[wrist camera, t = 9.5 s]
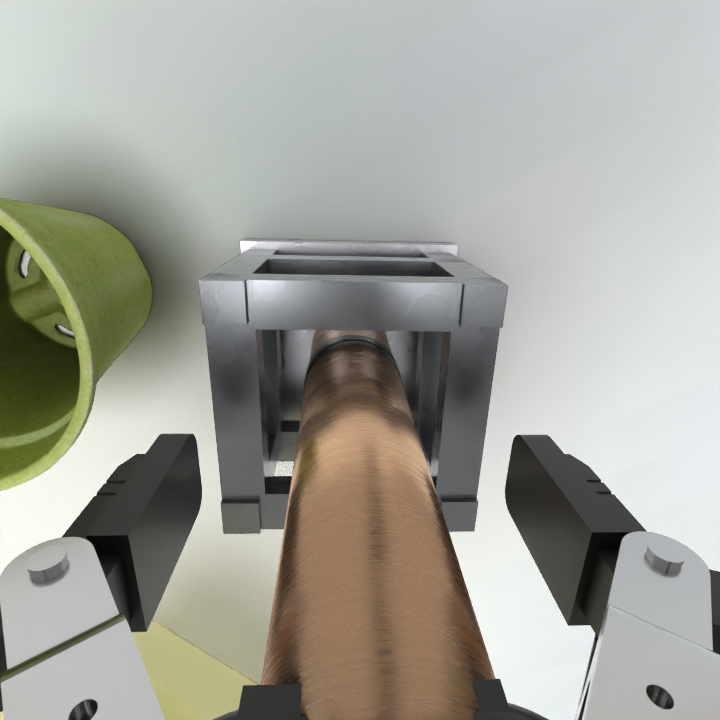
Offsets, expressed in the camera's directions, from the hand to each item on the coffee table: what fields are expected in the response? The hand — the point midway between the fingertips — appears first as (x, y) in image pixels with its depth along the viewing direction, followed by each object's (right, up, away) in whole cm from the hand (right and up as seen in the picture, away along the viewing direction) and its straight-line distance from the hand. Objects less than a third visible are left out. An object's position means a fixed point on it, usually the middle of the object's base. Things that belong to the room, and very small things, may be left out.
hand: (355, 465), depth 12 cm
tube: (0, +3, +9) cm, 9 cm away
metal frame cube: (0, +4, +10) cm, 10 cm away
